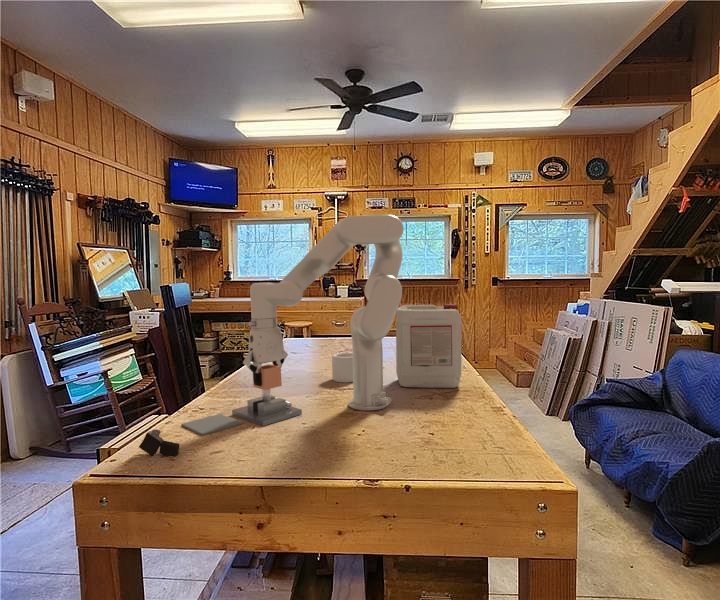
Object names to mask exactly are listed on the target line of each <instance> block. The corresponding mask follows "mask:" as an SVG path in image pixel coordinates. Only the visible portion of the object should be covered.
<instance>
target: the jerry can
mask: <svg viewBox="0 0 720 600" xmlns="http://www.w3.org/2000/svg"><path fill="white" fill-rule="evenodd" d="M395 322H396V323H395V340H396V342H395V345H396V346H395V350H396V352H395V357H396V358H395V359H396V363H395V367H396V376H397V380H398V383H399V385H400V387H404V388H418V389H419V388H420V389H421V388H422V389H423V388H424V389H425V388H428V389H429V388H430V389H431V388H432V389H455V388H457V387H458V386H459V385H460V381H461V377H462V331H463V330H462V329H463V328H462V324H463V323H462V315H461V314H460V312H459V310H458V304H454V303H453V304H452V303H447V304H446V303H445V304H444V305H443V306H437V305H435V304H402V305H401V306H399V307H398V310H397V313H396V321H395Z"/></svg>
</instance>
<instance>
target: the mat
mask: <svg viewBox="0 0 720 600" xmlns="http://www.w3.org/2000/svg"><path fill="white" fill-rule="evenodd" d="M242 424H243V422H242V421H239V420H237V419H235V418H232V417H229V416H227V415H224V414H221V413H218V414H214V415H209V416H207V417H202V418H198V419H195V420H191V421H186V422H183V423H181V427H184V428H185V429H188V430H190V431H192V432H194V433H196V434H197V435H200V436H202V437H203V436H206V435H210V434H213V433H217V432H220V431H224V430H228V429H230V428H231V429H232V428H235V427H237V426H241V425H242Z"/></svg>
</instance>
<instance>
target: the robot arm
mask: <svg viewBox="0 0 720 600" xmlns="http://www.w3.org/2000/svg"><path fill="white" fill-rule="evenodd" d="M404 228H405V227H404V224H403V222H402V220H401V219H400V218H399V217H398V216H395V215H393V214H373V215H372V214H371V215H370V214H369V215H366V214H365V215H348V216H345V217H344V218H341V219H340V220H339V221H337V222H336V223H335V224H334V226H332V228H330V229H329V230H328V231H327V232H326V233H325V234H324V236H323V237H322V238H321V239H319V241H318V242H317V243H316V244H315V245H314V246H313V247H312V248H310V250H309V251H308V252H307V253H306V254H305V256H304V257H302V259H301V260H300V261H299V262H298V263H296V265H295V266H294V267H293V268H292V269H291V270H290V271H289V272H288V273H287V275H285V277H284V278H282V280H281V281H279V282H277V283H273V282H255V283H252V284H251V285H250V287H249V293H250V294H249V295H250V312H251V314H250V315H251V316H250V317H251V320H250V321H249V322H248V327H251V329H250V330H249V336H248V353H247V356H246V357H245V358H244V360H243V361H242V364H243V365H245V366H246V367H247V369H249V370H250V371H251V373H252V380H253V381H254V385H257V386H262V377H261V373H260V368H261V365H264V364H269V363H272V365H277V366H281V368H282V367H283V364H284V362H285V361H286V359H287V357H288V356H289V353H288V352H287V351H286V350H285V348H284V341H283V340H284V339H283V334H282V333H283V332H282V331H281V328H280V327H279V326H278V310H277V309H278V308H277V306H281V307H294V306H296V305H298V304H299V303H300V302H301V301H302V299H303V296H304V292H305V290H306V289H308V287H310V285H312V283H314V282H315V281H316V280H317V279H318V278H320V277H322V276H324V275H325V274H327V273H328V272H330V271H331V270H332V269H333V268H334V267H335V266H336V265H337V263H338V262H339V261H340V260H341V259H342V258H343V257H344V256H345V255H346V254H347V253H348V252H349V251H350V250H351V249H352V247H354V246H355V245H373V246H374V248H375V257H374V259H373V260H374V261H373V265H372V267H371V270H370V273H369V275H368V278H367V280H366V283H365V286H364V289H363V290H364V291H363V292H364V296H365V297H366V299H367V302H366V306H361V307H359V308H357V309H356V310H354V312H353V313H352V315H351V318H350V333H351V342H352V344H351V345H352V353H353V382H352V385H353V386H352V391H353V395H352V396H353V398H351V399H350V400H349V401H348V407H350V408H351V409H354V410H357V411H378V410H381V409H385V408H387V407H388V406H389V405H390V403H391V402H392V398H391V397H389V396H387V395H386V394H387V393H386V391H384V367H383V365H384V363H383V354H384V353H383V341H382V339H384V338H385V337H387V335H388V334H389V332H390V331H391V329H392V326H393V324H394V320H395V317H396V316H397V310H398V308H399V307H400V303H401V300H402V297H403V286H402V284H401V282H400V280H399V279H398V276H399V272H400V268H401V266H402V262H403V249H402V245H401V243H400V239H401V238H402V236H403V235H404ZM253 381H252V382H253Z"/></svg>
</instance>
